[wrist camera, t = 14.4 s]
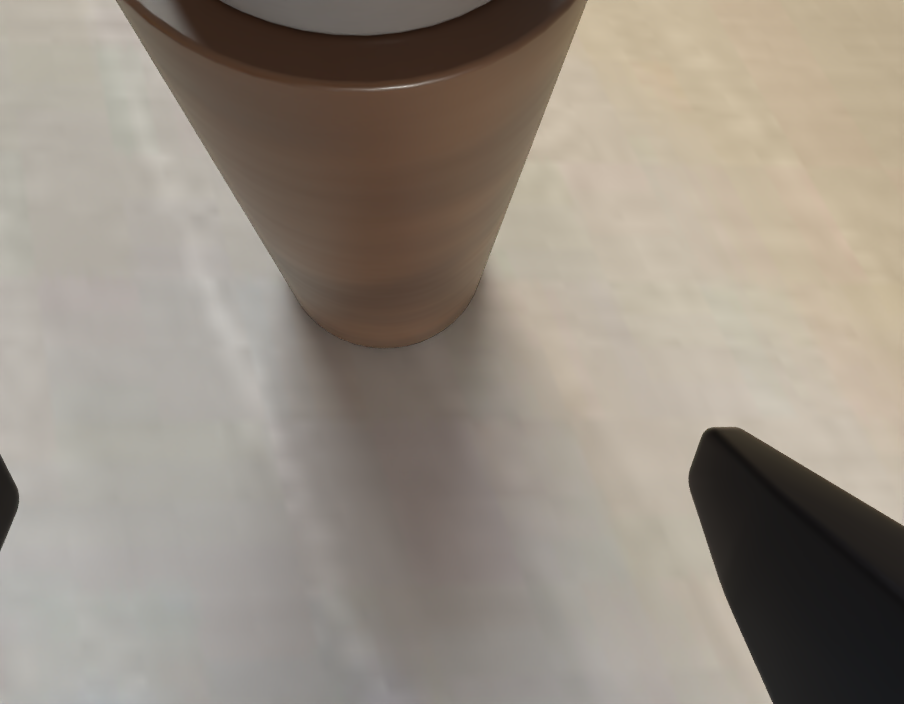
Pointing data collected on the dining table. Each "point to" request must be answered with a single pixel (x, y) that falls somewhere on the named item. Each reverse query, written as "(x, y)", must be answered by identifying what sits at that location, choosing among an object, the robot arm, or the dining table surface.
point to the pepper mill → (366, 138)
